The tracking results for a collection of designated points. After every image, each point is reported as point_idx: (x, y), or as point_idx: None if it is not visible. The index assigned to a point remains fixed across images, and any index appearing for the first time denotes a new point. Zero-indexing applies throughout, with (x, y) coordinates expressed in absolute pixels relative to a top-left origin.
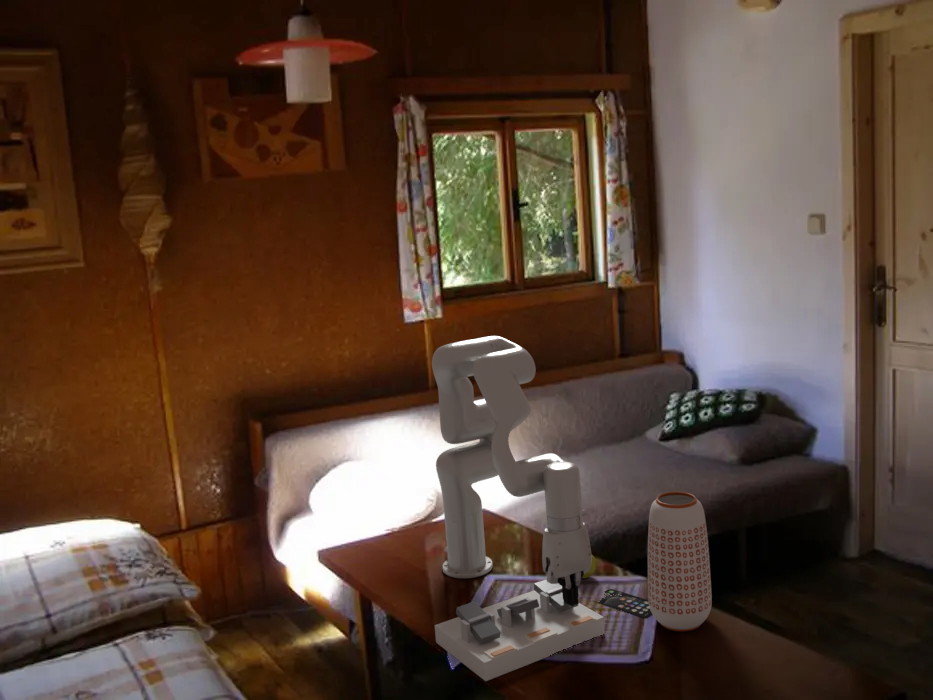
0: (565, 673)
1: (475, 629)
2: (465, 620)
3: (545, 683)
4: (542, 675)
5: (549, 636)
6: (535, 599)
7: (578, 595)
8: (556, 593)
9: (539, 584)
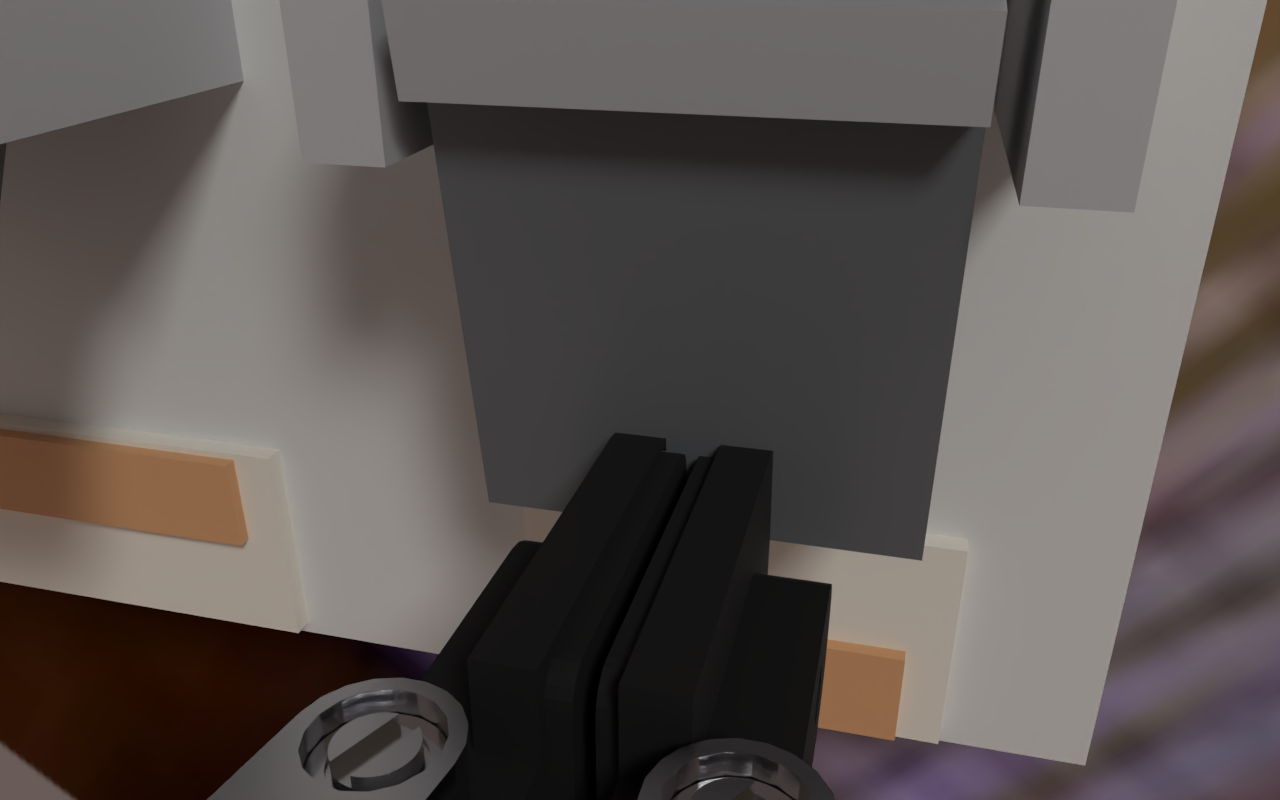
0: None
1: None
2: None
3: (109, 733)
4: (129, 652)
5: (195, 607)
6: None
7: (814, 747)
8: (640, 130)
9: None
